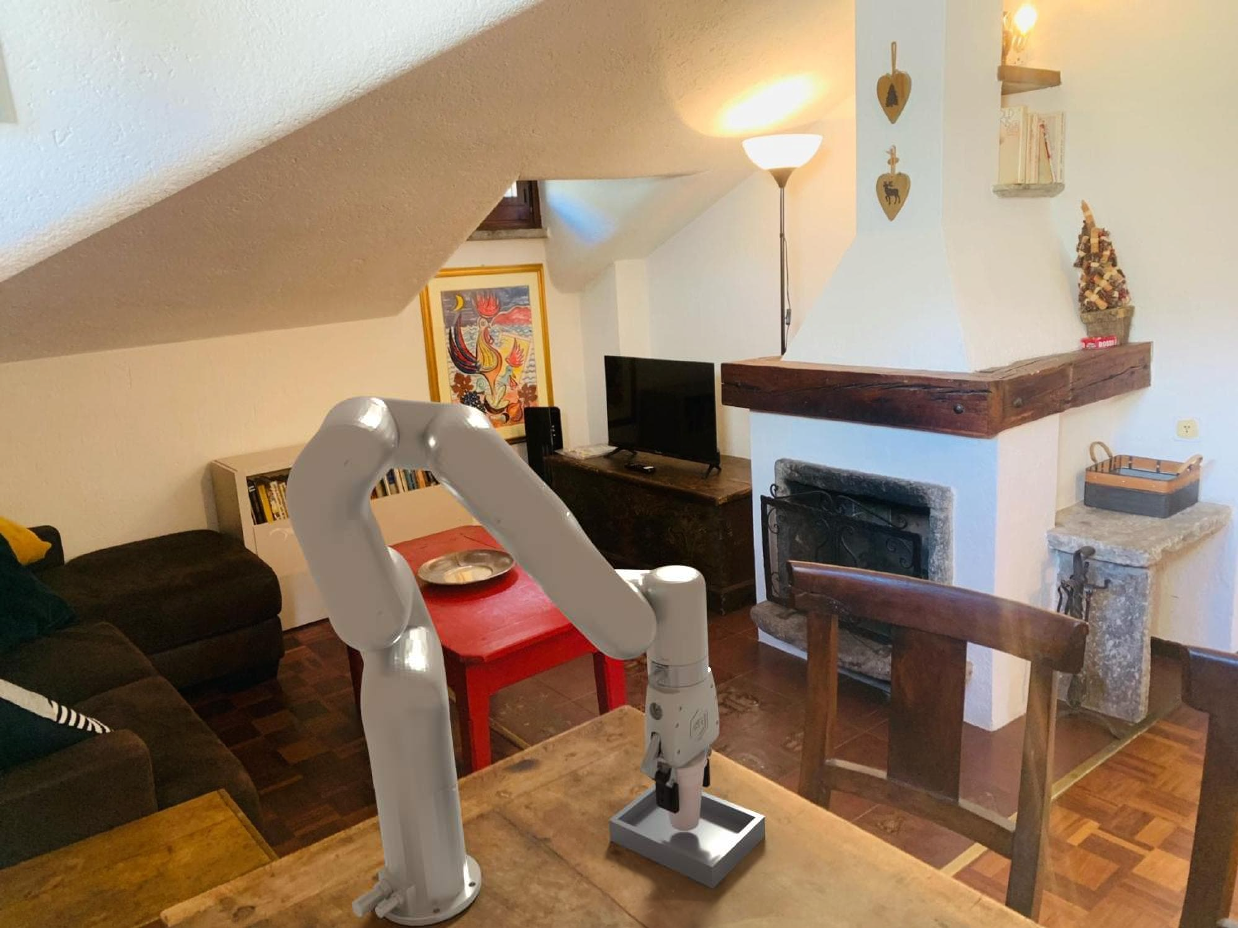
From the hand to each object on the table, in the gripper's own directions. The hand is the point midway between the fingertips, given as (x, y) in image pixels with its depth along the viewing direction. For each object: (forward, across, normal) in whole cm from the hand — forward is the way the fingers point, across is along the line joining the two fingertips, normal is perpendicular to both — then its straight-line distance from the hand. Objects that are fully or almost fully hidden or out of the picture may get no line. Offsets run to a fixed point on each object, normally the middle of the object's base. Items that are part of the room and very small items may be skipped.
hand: (683, 794), depth 118 cm
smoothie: (+4, 0, 0) cm, 4 cm away
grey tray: (+6, 0, 0) cm, 6 cm away
